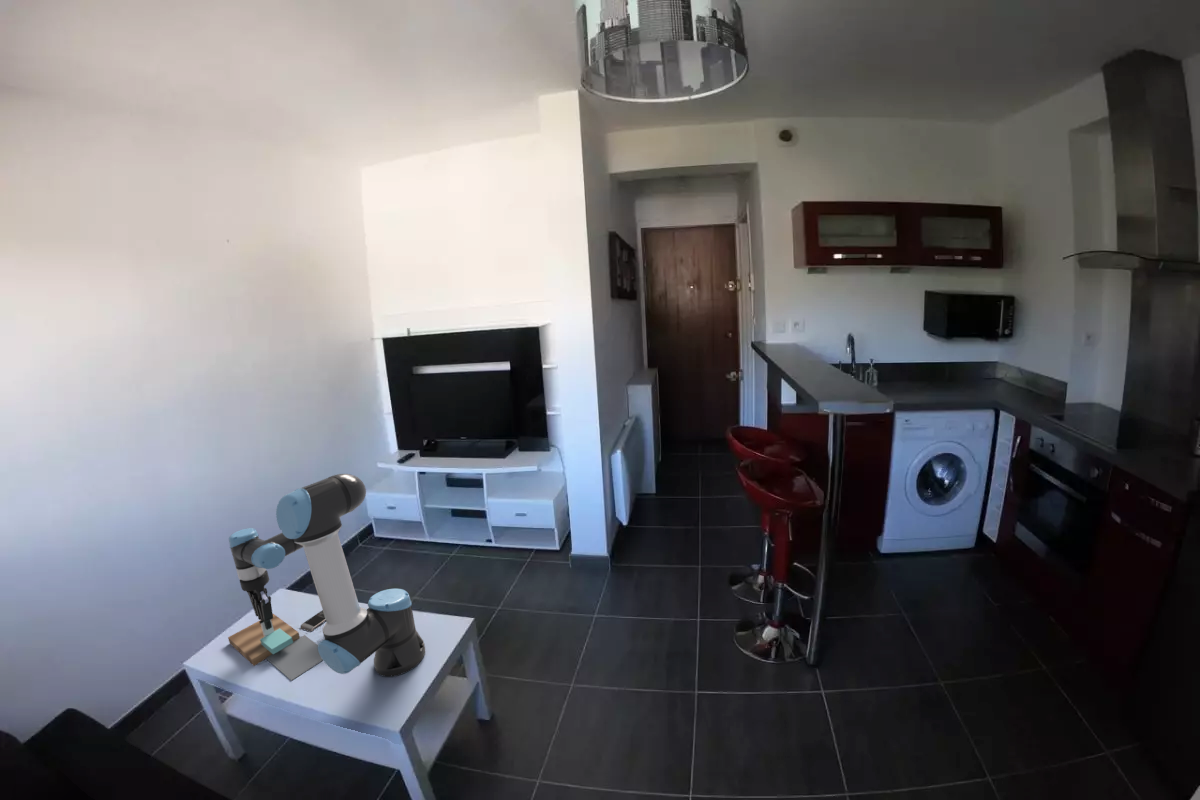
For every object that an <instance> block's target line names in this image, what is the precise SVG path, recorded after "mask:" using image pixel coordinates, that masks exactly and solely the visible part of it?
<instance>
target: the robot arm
mask: <svg viewBox="0 0 1200 800" xmlns="http://www.w3.org/2000/svg"><path fill="white" fill-rule="evenodd" d="M366 496H367V489H366V485H365V484H364V481H363V480H361V479H360V478H359V477H358V476H356V475H352V474H350V473H338V474H333V475H331V476H329V477H326V478H324V479H321V480H319V481H316V482H313V483H310V484H308V485H306V486H303V487H300V488H296V489H295V490H294V491H292V492H289V493H287V494H285V495H284V496H282V497H281V498H280V499H279V500H278V504H277V505H276V509H275V510H276V511H275V512H276V513H275V515H276V516H275V517H276V523H277V525H278V528H279V530H280V531H281V533H278V534H276V535H274V536H272V537H270V538H268V539H265V540H264V539H261V538H259V533H258V530H256V528H253V527H248V528H243V529H240V530H237V531H235V532H234V533H232V534H231V535H230V536H229V537H228V544H229V549H230V551H231V555H232V558H233V562H234V565H235V571H236V574H237V578H238V580H239V583H240V587H241V590H242V591H243V592H246V593H247V595H248V598H249V600H250V603H251V606H252V608H253V611H254V614H255V616H256V617H257V620H258V621H259V623H260V624H261V627H262V631H263V635H264V637H265V636H267V635H269V634H271V633H272V632H274V628H273V625H272V621H271V619H273V614H274V613H273V609H272V608H273V607H272V597H271V596H270V595H269V596H268V590H267V587H265V586H266V585H267V584H268V583H269V581H270V576H269V573H268V570H271V569H275V568H278V566H279V565H280V564H282V563H283V562H284V559H285V557H287V556H289V555H291V554H293V553H295V552H296V551H298V550H301V549H303V551H304V554H305V557H306V560H307V564H308V567H309V570H310V573H311V576H312V579H313V582H314V586H315V590H316V593H317V595H318V596H317V597H318V599H319V602H320V605H321V610H323V612H324V615H325V619H326V621H325V622H326V623H325V624H324V626H323V627H322V634H323V638H324V639H321V641H320V642H319V643H317V645H318V652H319V654H320V656H321V658H322V659H323V661H322V662H324V663H325V664H326V665H327V666H328V668H329V669H331V670H332V671H334V672H335V673H337V674H341V675H346V674H349V673H350V672H352V671H353V670H354V669H355V668H357V667H359V666H360V665H361V664H362V663H364V661H366V660H367V659H368V658H370V657H371V656H372V655H373V654H374V658H373V665H374V670H375V672H376V673H377V674H378V675H380V676H382V677H390V678H391V677H397V676H400V675H403V674H405V673H407V672H410V671H411V670H413V669H414V668H415V667H417V666H418V665H419V664H420V662H422V660H423V659H424V657H425V655H426V646H425V642H424V640H423V638H422V636H421V635H420V634H419V632H418V631H417V629H416V624H415V618H414V611H413V607H412V605H413V603H412V602H413V601H412V600H411V596H410V594H409V593H408V591H406V590H405V589H403V588H389V589H384V590H381V591H379V592H376V593H375V594H373V595H371V596H370V598H369V600H368V603H367V606H368V608H364V607H360V603H359V600H358V596H357V594H356V590H355V587H354V583H353V580H352V576H351V573H350V570H349V566H348V563H347V560H346V555H345V553H344V550H343V546H342V543H341V540H340V536H339V532H340V530H341V528H342V526H343V525H342V524H343V523H342V521H341V518H342V516H345V515H346V514H349V513H351V512H352V513H353V511H355V510H356V509H357V508H358V507H360V506H361V504H363V502H364V501H365V499H366Z"/></svg>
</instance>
